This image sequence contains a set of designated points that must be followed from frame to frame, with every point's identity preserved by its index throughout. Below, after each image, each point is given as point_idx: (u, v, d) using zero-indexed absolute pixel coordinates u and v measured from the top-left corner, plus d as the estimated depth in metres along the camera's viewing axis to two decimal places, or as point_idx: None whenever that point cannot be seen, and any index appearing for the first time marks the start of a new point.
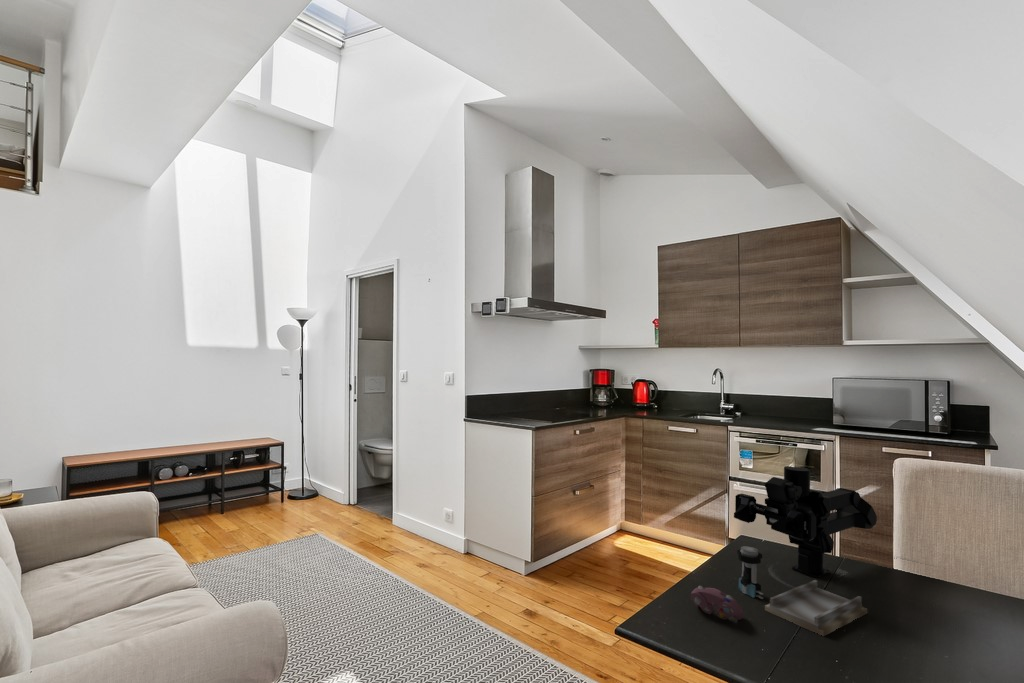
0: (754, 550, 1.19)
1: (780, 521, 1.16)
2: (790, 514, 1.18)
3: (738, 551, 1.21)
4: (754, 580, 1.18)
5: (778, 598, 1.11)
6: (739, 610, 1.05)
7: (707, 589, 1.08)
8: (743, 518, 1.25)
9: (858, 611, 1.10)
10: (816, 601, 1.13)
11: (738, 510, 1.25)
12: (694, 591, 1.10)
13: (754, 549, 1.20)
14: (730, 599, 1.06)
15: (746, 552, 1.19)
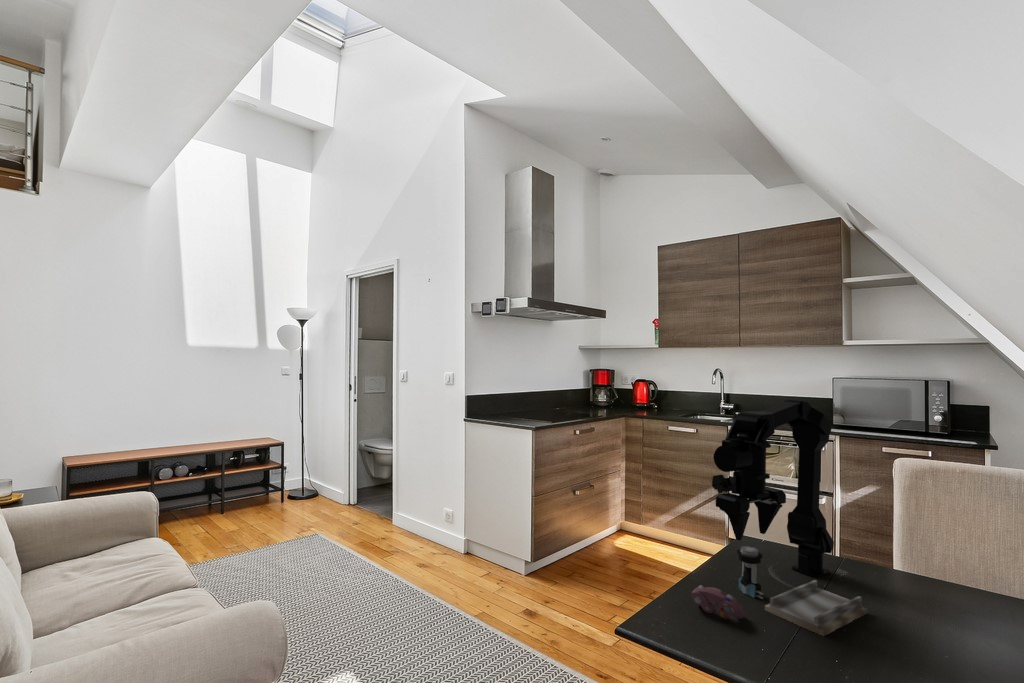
0: (754, 550, 1.19)
1: None
2: None
3: (738, 551, 1.21)
4: (754, 580, 1.18)
5: (778, 598, 1.11)
6: (740, 609, 1.06)
7: (708, 588, 1.09)
8: (768, 518, 1.21)
9: (858, 611, 1.10)
10: (816, 601, 1.13)
11: None
12: (695, 590, 1.10)
13: (754, 549, 1.20)
14: (731, 598, 1.06)
15: (746, 552, 1.19)
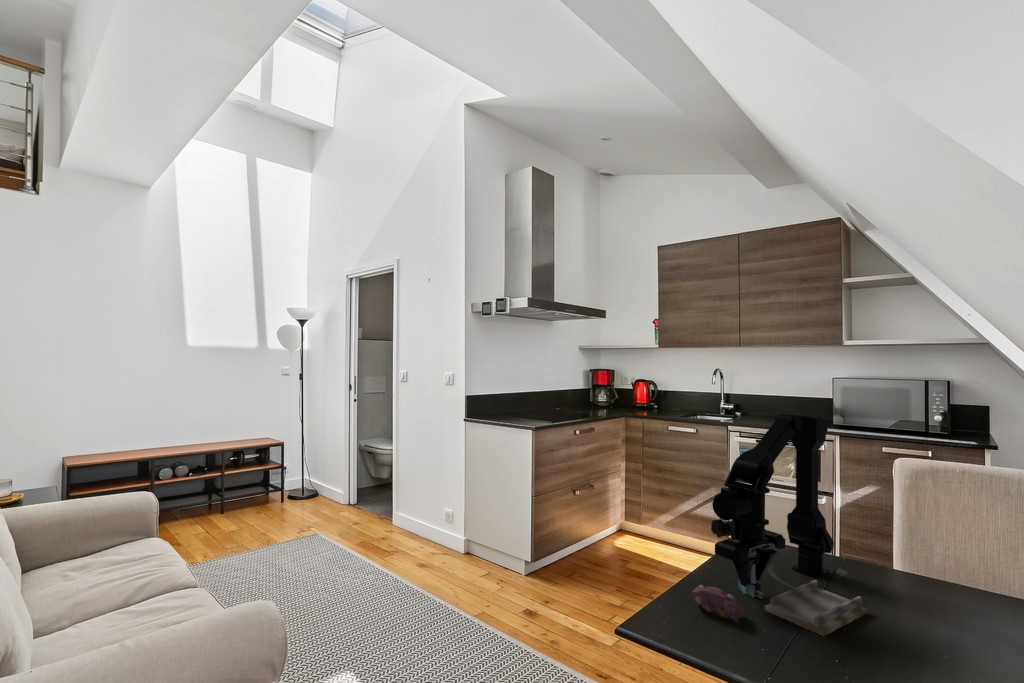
0: (752, 550, 1.19)
1: None
2: None
3: None
4: (753, 580, 1.18)
5: (778, 598, 1.11)
6: (740, 609, 1.06)
7: (708, 588, 1.09)
8: (762, 565, 1.19)
9: (858, 611, 1.10)
10: (816, 601, 1.13)
11: None
12: (695, 590, 1.10)
13: None
14: (731, 597, 1.06)
15: None
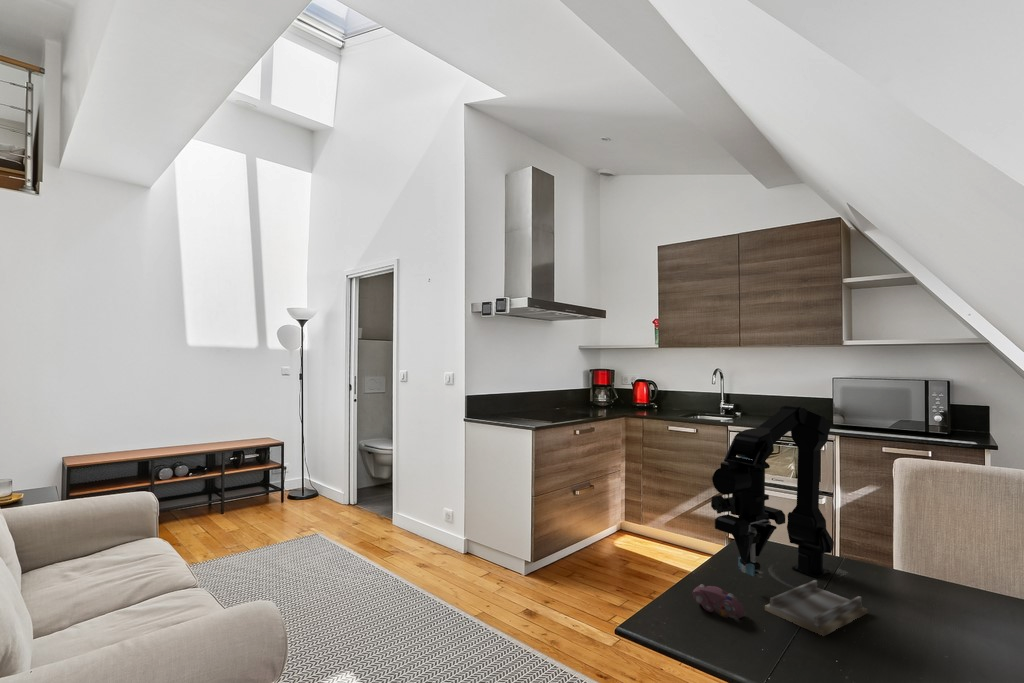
0: (752, 530, 1.19)
1: None
2: None
3: None
4: (753, 559, 1.18)
5: (778, 598, 1.11)
6: (740, 608, 1.06)
7: (709, 587, 1.09)
8: (762, 541, 1.19)
9: (858, 611, 1.10)
10: (816, 601, 1.13)
11: None
12: (696, 589, 1.11)
13: (753, 528, 1.20)
14: (732, 597, 1.07)
15: None
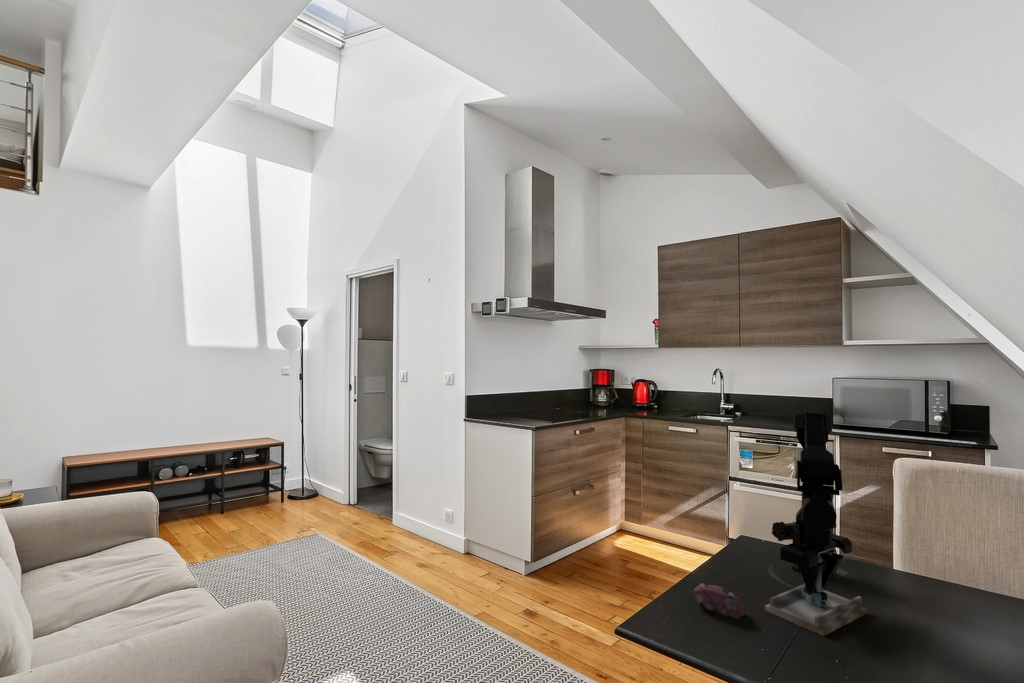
0: (818, 557, 1.11)
1: None
2: None
3: None
4: (819, 589, 1.11)
5: (778, 598, 1.11)
6: (741, 607, 1.07)
7: (709, 586, 1.10)
8: (828, 571, 1.12)
9: (858, 611, 1.10)
10: None
11: None
12: (697, 588, 1.11)
13: None
14: (733, 596, 1.07)
15: None
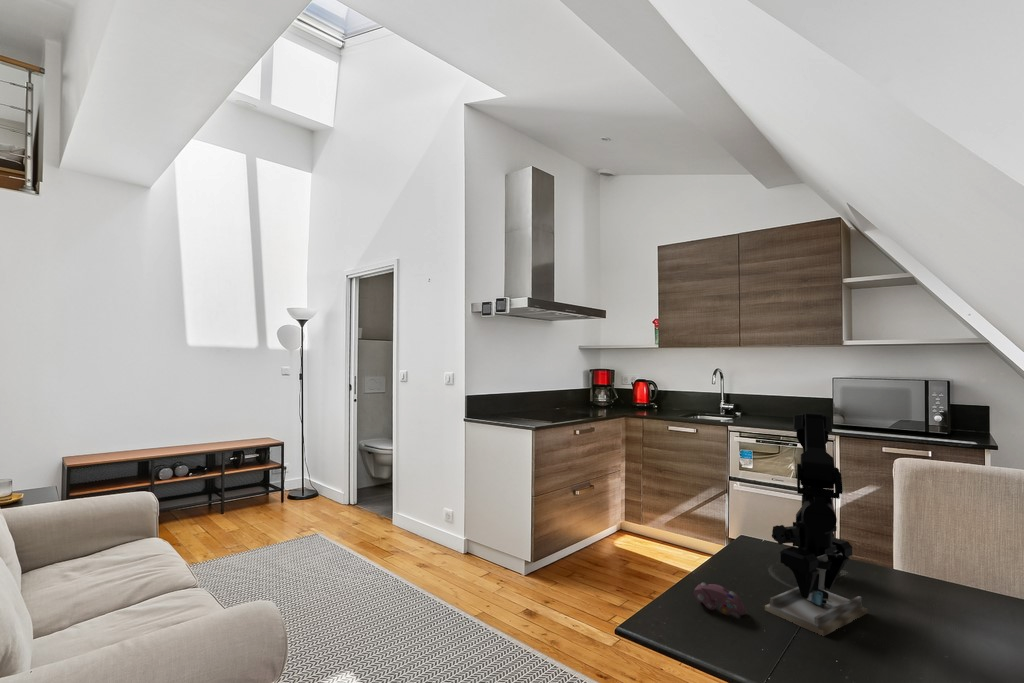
0: None
1: None
2: None
3: None
4: (821, 587, 1.11)
5: (778, 598, 1.11)
6: (742, 606, 1.07)
7: (710, 585, 1.10)
8: (833, 572, 1.13)
9: (858, 611, 1.10)
10: None
11: None
12: (697, 588, 1.12)
13: None
14: (733, 595, 1.08)
15: None
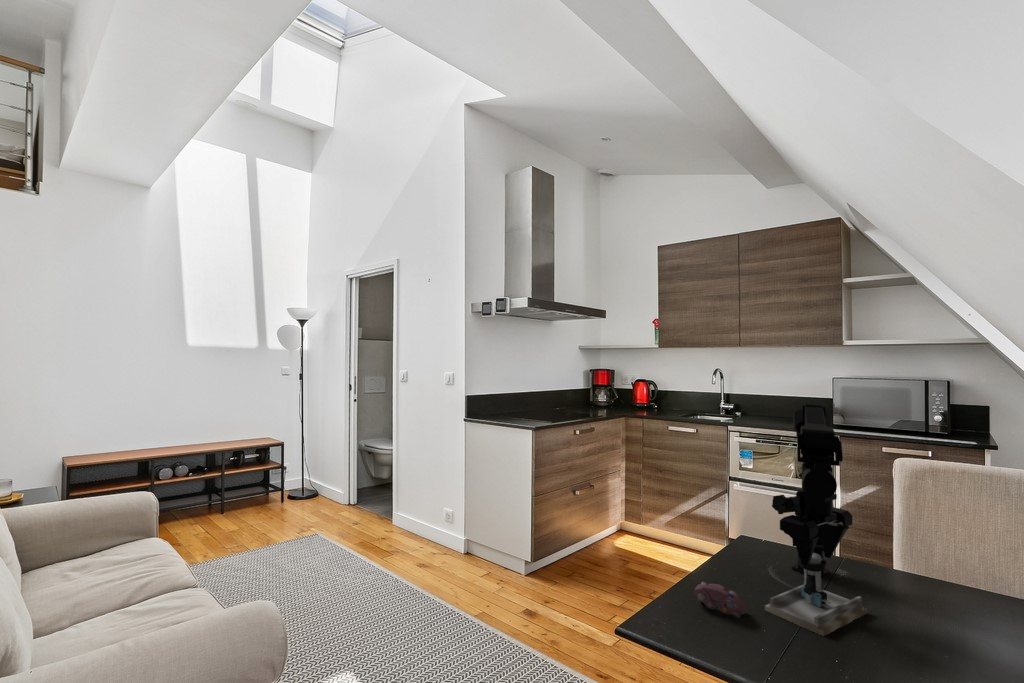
0: (817, 556, 1.12)
1: None
2: None
3: (799, 558, 1.14)
4: (819, 588, 1.11)
5: (778, 598, 1.11)
6: (742, 605, 1.08)
7: (710, 585, 1.10)
8: (834, 541, 1.13)
9: (858, 611, 1.10)
10: None
11: None
12: (698, 587, 1.12)
13: (817, 555, 1.13)
14: (734, 594, 1.08)
15: None
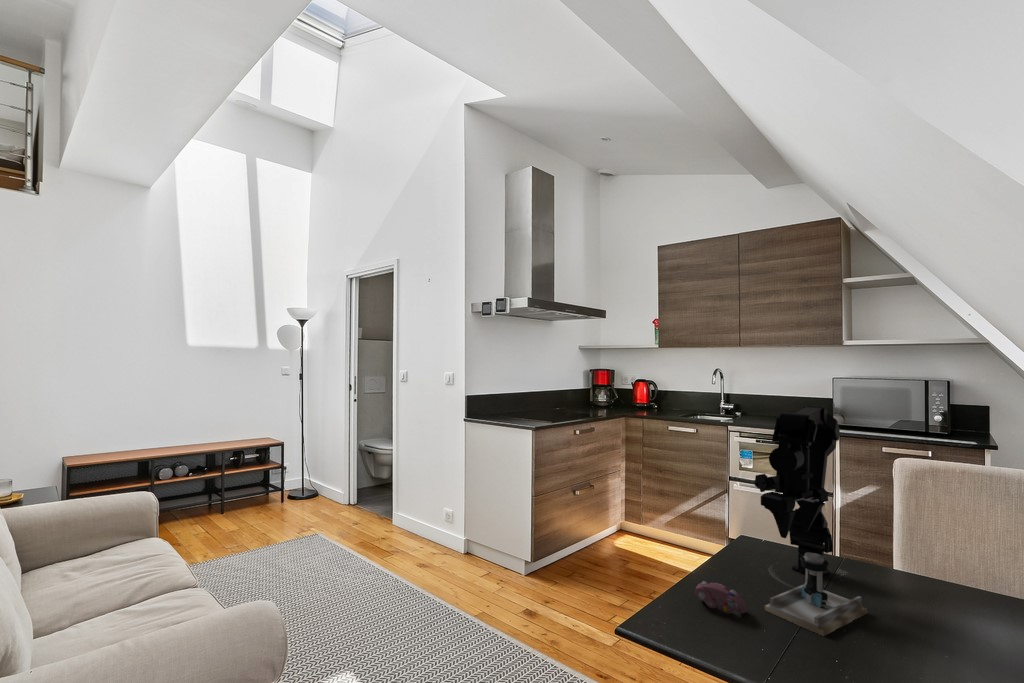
0: (819, 557, 1.12)
1: None
2: None
3: (801, 558, 1.14)
4: (820, 589, 1.11)
5: (778, 598, 1.11)
6: (743, 604, 1.08)
7: (711, 584, 1.11)
8: (811, 516, 1.23)
9: (858, 611, 1.10)
10: None
11: None
12: (698, 586, 1.12)
13: (819, 555, 1.13)
14: (734, 593, 1.08)
15: (811, 559, 1.11)
